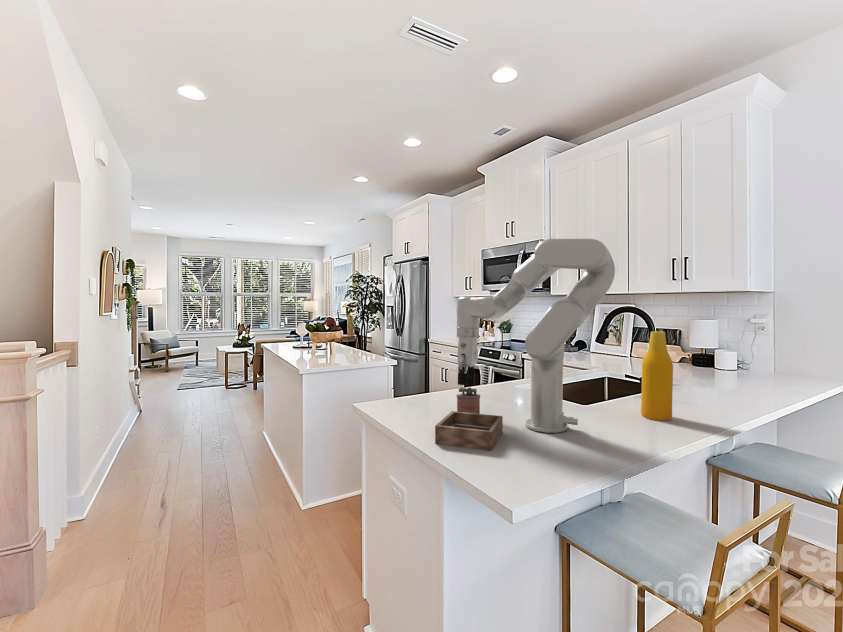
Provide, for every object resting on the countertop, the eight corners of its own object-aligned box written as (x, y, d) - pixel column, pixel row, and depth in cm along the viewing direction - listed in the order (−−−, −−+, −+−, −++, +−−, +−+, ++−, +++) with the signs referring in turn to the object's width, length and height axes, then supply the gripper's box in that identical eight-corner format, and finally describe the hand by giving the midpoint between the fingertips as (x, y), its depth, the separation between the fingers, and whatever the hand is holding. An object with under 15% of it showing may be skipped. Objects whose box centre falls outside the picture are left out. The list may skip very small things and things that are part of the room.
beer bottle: (678, 421, 136) (680, 333, 135) (649, 421, 136) (651, 333, 135) (662, 413, 145) (664, 330, 144) (635, 413, 146) (637, 330, 144)
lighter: (480, 415, 144) (480, 386, 144) (480, 418, 141) (480, 388, 140) (456, 414, 145) (456, 386, 145) (456, 417, 142) (456, 388, 141)
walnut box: (502, 432, 126) (502, 416, 126) (491, 450, 111) (491, 432, 111) (451, 426, 132) (451, 411, 131) (435, 443, 117) (435, 425, 116)
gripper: (472, 335, 132) (470, 388, 133) (484, 331, 149) (482, 378, 150) (449, 334, 135) (448, 386, 136) (463, 330, 151) (462, 376, 152)
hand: (466, 382), depth 143 cm, fingers open, 9 cm apart
